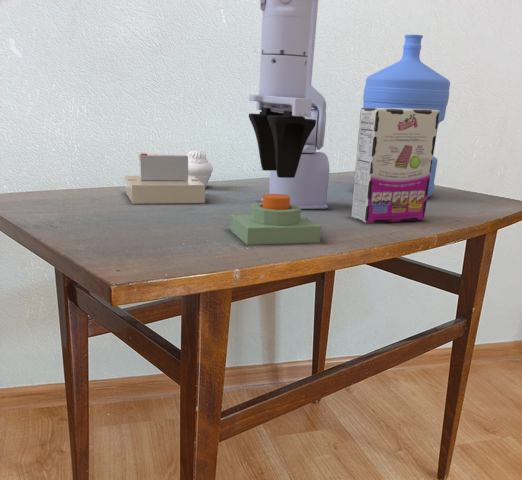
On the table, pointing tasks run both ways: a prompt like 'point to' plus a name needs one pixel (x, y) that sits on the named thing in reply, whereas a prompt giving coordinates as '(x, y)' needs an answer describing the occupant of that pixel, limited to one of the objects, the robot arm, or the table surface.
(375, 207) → the candy bar box
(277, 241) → the switch
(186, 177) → the gray rectangular brick
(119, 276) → the table surface
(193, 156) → the muffin
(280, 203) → the button
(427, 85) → the water jug
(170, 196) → the base
